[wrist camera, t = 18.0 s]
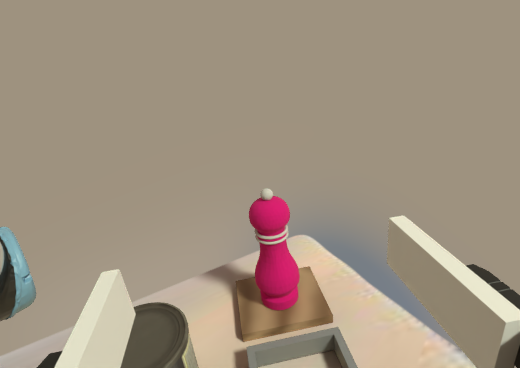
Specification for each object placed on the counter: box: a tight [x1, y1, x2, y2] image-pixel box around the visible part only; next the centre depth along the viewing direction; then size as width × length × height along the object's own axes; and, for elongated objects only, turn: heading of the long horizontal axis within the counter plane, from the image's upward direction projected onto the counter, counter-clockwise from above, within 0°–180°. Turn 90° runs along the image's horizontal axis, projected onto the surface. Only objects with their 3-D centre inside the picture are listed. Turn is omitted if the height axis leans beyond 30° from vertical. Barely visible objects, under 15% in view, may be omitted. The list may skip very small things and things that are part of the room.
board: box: [236, 267, 333, 342], centre depth 52 cm, size 14×12×2 cm
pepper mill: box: [249, 188, 300, 310], centre depth 48 cm, size 7×7×20 cm
